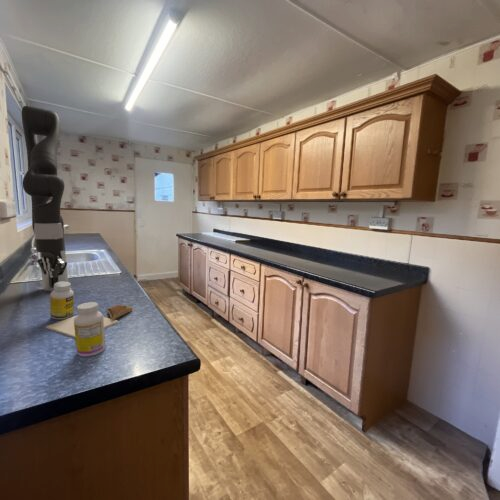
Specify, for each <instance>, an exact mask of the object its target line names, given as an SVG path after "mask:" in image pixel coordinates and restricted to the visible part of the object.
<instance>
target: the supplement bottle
mask: <svg viewBox="0 0 500 500" xmlns="http://www.w3.org/2000/svg"><path fill="white" fill-rule="evenodd" d="M76 310H77V313H78V314H77V316H76V315H75V316H76V317H75V318H74V329H75V338H74V339H75V346H76V354H77V355H78V356H80V357H93V356H96V355H98V354H101V353H102V352H103V351H104V350H105V348H106V336H105V335H106V333H105V329H104V320H103V317H104V315H103V313H102V312H100V311H99V303H98V302H94V301H90V302H89V301H88V302H84V303H81V304H78V305H77V307H76Z"/></svg>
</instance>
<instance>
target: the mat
mask: <svg viewBox="0 0 500 500" xmlns="http://www.w3.org/2000/svg"><path fill="white" fill-rule="evenodd" d="M77 315H78V314H77ZM77 315H74V316H71V317H69V318H66V319H62V320H61V321H57V322H54V323H52V324H48V325H46V326H45V327H46V329H47V330H50V331H52V332H56V333H60V334H62V335H65V336H68V337H70V338H74V339H75V329H74V318H75V317H76V316H77ZM103 320H104V330H105V329H108V328H110V327H111V326H114V325H116V324H118V323H119V320H117V319H114V320H113V319H111V317H106V316H103Z"/></svg>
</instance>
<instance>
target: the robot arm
mask: <svg viewBox="0 0 500 500" xmlns="http://www.w3.org/2000/svg"><path fill="white" fill-rule="evenodd" d="M60 121H61V120H60V117H59V115H58V113H57V112H55V111H54V110H53V111H52V110H48V109H45V108H40V107H34V106H30V105H24V106H23V107H22V108H21V123H22V128H23V134H24V141H25V148H26V155H27V172H26V173H25V175H24V177H23V179H22V189H23V191H24V192H25V193H26V194H27V195H29V196H30V198H31V200H30V201H31V224H32V231H33V233H34V239H35V250H36V252H38V253H39V257H40V258H38V259H37V261H36V262H37V264H38V265H39V267H40V271H41V272H40V273H41V281H42V289H43V291H44V292H45V291H46V292H52V291H53V290H55V289H54V284H55V283H57V282H62V281H65V282H69V278H68V277H69V275H68V266H67V265H68V262H67V255H66V244H65V234H64V233H65V228H64V227H65V226H64V224H65V223H64V218H63V216H62V215H61V204H62V199H63V195H64V191H65V182H64V180H63V178H62V177H61V176H59V175H58V158H57V154H58V147H59V143H60V137H61V135H60V134H61V122H60ZM36 136H43V137H45V138H43V139H42V140H40V141H39V142H38V140H37V138H36ZM50 199H51V200H50ZM49 200H50V202H49Z"/></svg>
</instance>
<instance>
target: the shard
mask: <svg viewBox="0 0 500 500" xmlns="http://www.w3.org/2000/svg"><path fill="white" fill-rule="evenodd" d="M106 311H107V312H108V313H109V318H110V319H113V320H117V319H118V318H120V317H121V316H124V315H125V314H128V313H129V312H132V311H133V307H131V306H130V305H124V304H123V305H122V304H116V305H114V306H111V307H108V308H107V309H106Z"/></svg>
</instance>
